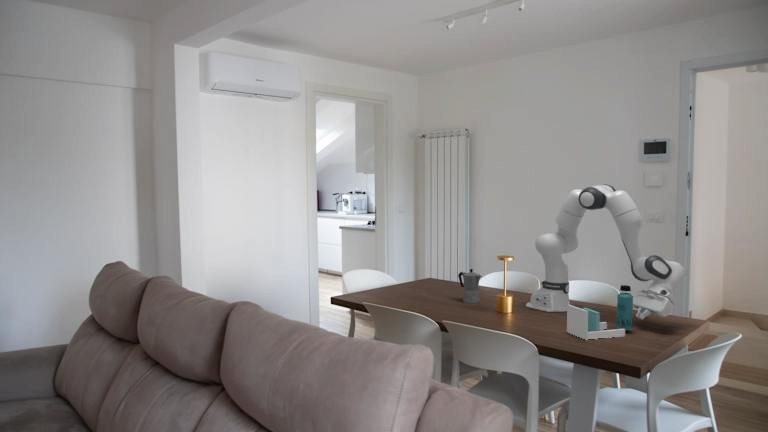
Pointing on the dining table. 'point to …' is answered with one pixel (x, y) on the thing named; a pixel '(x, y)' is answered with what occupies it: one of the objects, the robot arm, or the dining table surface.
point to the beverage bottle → (624, 309)
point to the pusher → (593, 320)
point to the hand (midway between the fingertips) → (639, 317)
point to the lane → (579, 325)
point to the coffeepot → (470, 286)
